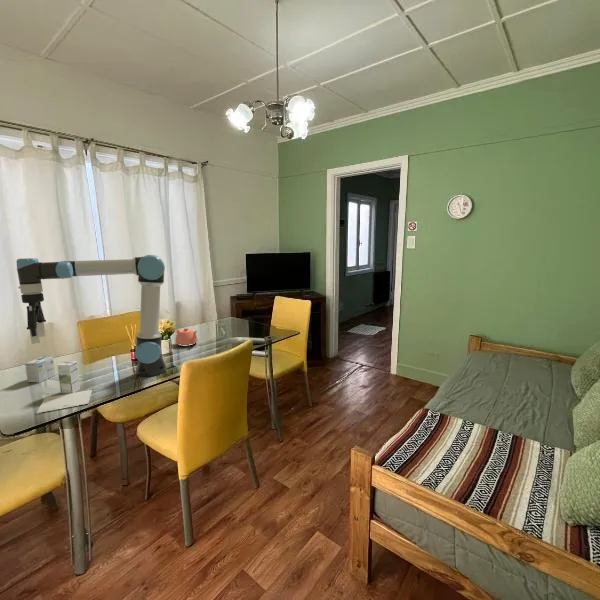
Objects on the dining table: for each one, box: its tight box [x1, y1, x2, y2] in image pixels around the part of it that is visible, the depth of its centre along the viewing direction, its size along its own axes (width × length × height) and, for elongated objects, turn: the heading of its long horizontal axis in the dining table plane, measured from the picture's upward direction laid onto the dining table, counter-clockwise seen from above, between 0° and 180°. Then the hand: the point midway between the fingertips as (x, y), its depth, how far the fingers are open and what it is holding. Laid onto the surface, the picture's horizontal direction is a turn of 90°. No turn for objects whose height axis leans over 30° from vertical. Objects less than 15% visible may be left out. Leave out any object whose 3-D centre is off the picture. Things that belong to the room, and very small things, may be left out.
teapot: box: [174, 327, 199, 345], centre depth 230 cm, size 22×15×12 cm
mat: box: [35, 389, 93, 415], centre depth 144 cm, size 18×16×1 cm
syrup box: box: [57, 360, 81, 395], centre depth 153 cm, size 6×6×14 cm
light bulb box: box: [24, 356, 56, 384], centre depth 169 cm, size 11×7×11 cm, turn 178°
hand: (39, 339), depth 146 cm, fingers open, 13 cm apart
